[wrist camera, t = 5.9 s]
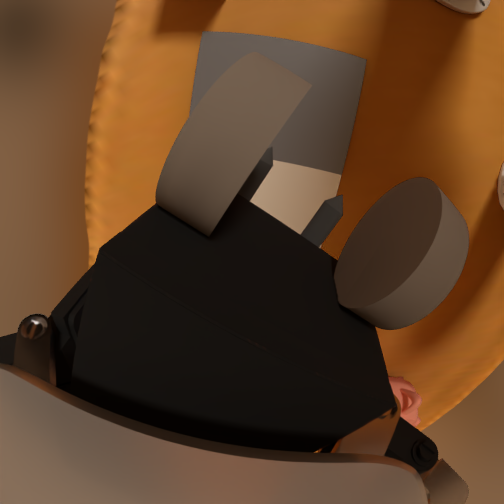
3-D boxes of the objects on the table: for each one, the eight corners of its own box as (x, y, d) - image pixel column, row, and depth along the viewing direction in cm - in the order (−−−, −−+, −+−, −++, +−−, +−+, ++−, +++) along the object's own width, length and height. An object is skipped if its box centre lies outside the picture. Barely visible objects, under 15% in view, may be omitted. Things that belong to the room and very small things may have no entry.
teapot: (423, 355, 34) (441, 408, 26) (411, 392, 40) (422, 438, 31) (336, 374, 38) (341, 433, 29) (338, 408, 43) (341, 456, 34)
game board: (203, 32, 18) (202, 31, 18) (365, 60, 18) (366, 59, 17) (180, 322, 35) (179, 324, 34) (287, 342, 35) (286, 344, 34)
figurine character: (245, 82, 9) (111, 346, 14) (209, -30, 2) (56, 450, 7) (388, 181, 10) (211, 396, 15) (533, 262, 3) (194, 507, 8)
